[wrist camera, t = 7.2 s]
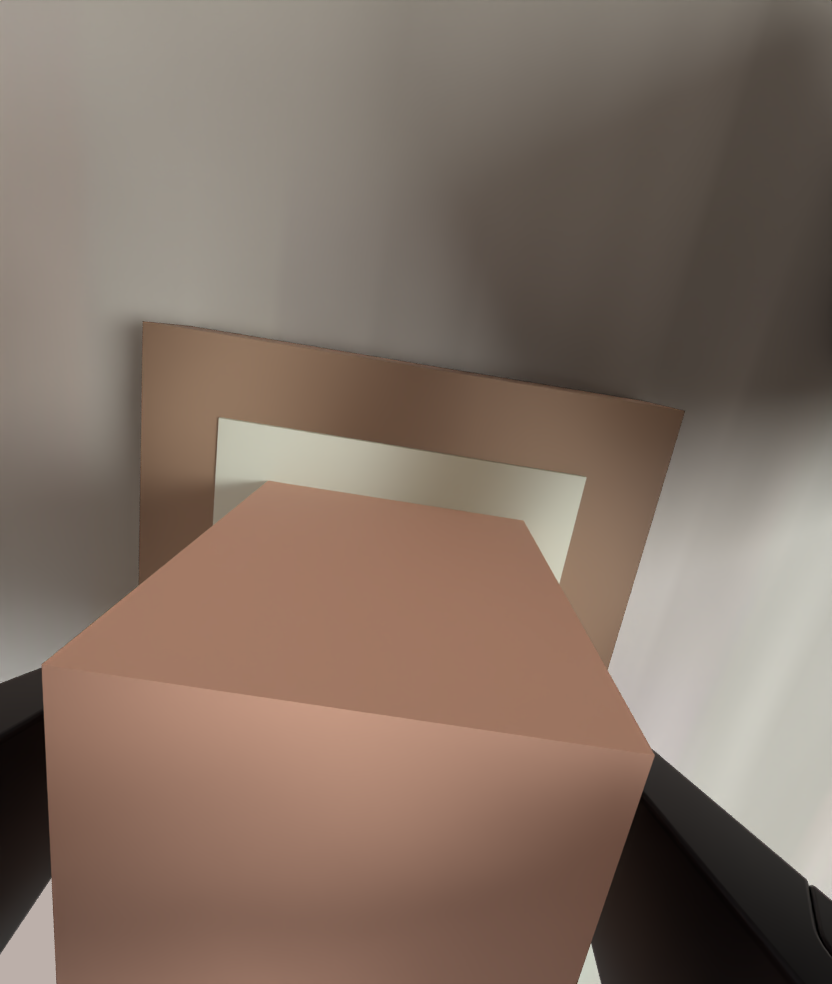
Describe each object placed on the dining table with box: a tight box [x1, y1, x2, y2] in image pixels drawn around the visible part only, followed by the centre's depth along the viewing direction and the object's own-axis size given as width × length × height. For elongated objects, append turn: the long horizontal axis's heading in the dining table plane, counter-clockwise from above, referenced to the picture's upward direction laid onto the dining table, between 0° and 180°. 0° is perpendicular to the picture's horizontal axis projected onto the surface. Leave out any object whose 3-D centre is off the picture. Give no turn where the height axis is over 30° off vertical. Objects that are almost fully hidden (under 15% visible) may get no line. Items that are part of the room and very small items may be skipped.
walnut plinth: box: [139, 321, 685, 670], centre depth 12 cm, size 10×10×2 cm
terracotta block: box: [42, 481, 655, 984], centre depth 8 cm, size 5×5×6 cm
